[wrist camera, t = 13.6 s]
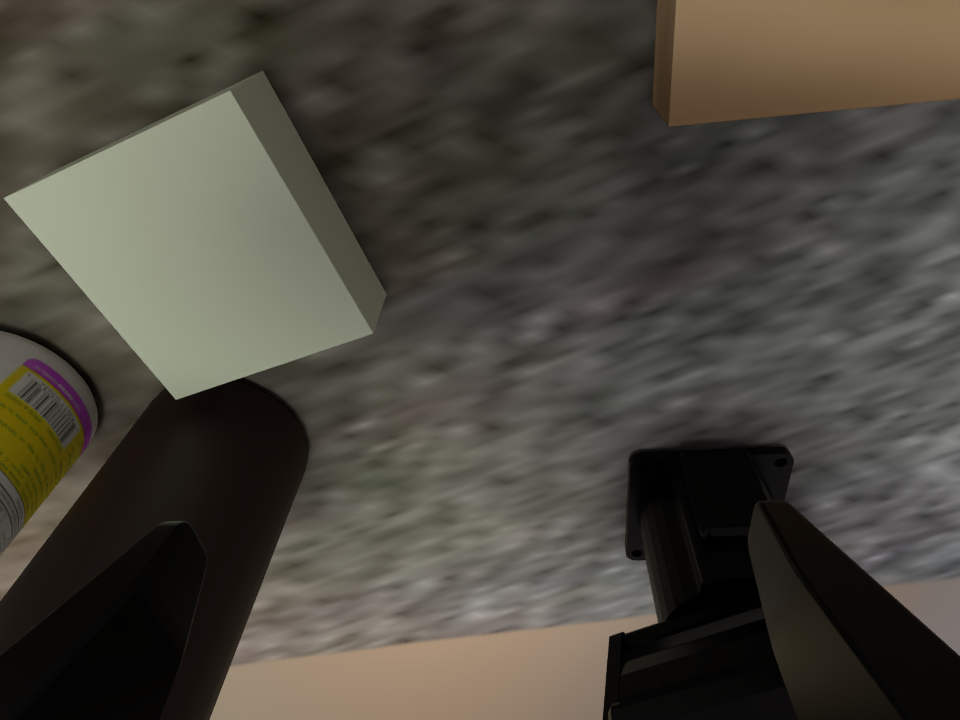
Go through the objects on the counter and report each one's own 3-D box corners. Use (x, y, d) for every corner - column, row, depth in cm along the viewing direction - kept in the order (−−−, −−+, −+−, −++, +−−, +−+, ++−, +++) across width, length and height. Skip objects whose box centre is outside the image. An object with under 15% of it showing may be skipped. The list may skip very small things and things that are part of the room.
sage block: (388, 289, 23) (373, 333, 20) (209, 352, 25) (175, 400, 22) (267, 68, 19) (230, 90, 16) (64, 165, 21) (3, 198, 18)
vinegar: (341, 433, 27) (59, 1260, 10) (261, 512, 30) (-52, 1241, 13) (195, 342, 24) (-477, 1227, 8) (125, 438, 27) (-461, 1214, 11)
